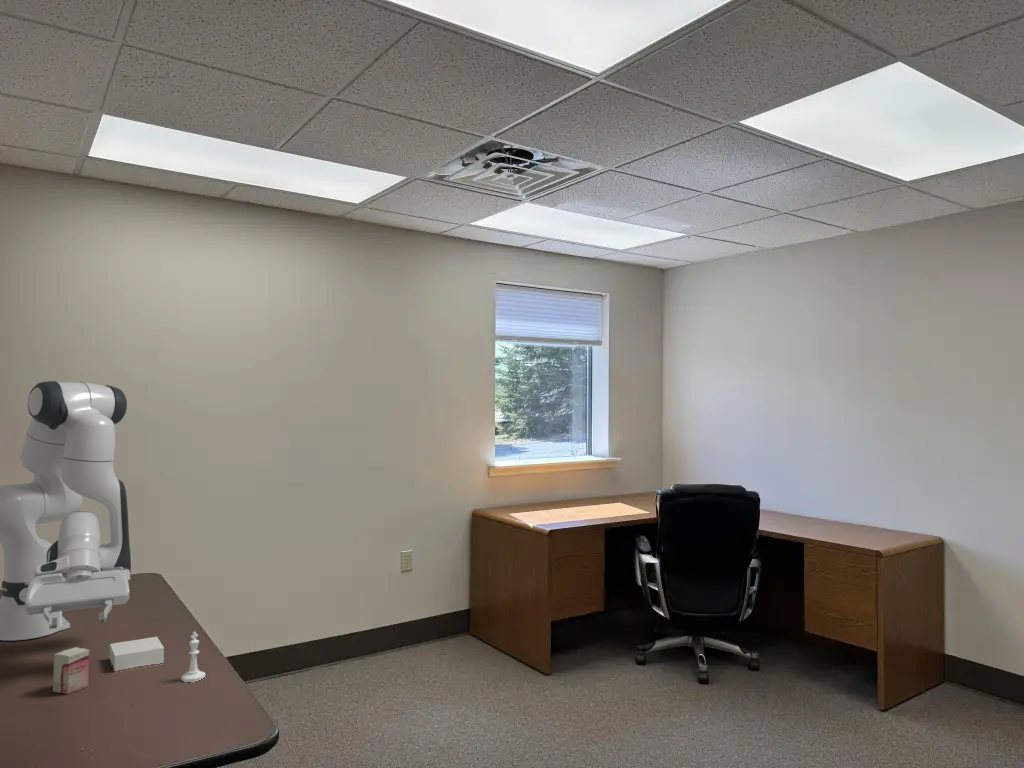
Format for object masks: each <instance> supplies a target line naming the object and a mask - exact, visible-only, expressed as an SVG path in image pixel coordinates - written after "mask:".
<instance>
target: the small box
mask: <svg viewBox="0 0 1024 768" xmlns="http://www.w3.org/2000/svg"><path fill="white" fill-rule="evenodd" d="M89 663H90V649H89V648H88V649H87V648H83V647H82V648H81V647H77V646H75V647H71V648H69V649H64V650H62V651H59V652H57V653H54V654H53V675H52V676H53V680H52V681H53V683H52V692H54V693H58V694H59V693H60V694H63V695H64V694H65V695H70V694H72V693H74V692H77V691H79V690H82V689H84V688H87V687H88V686H89V670H90V669H89V667H90V665H89Z"/></svg>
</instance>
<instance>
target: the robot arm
mask: <svg viewBox="0 0 1024 768" xmlns="http://www.w3.org/2000/svg"><path fill="white" fill-rule="evenodd" d="M127 409H128V400H127V397H126V395H125V393H124V391H123V390H122V389H120V388H118V387H115V386H113V385H108V384H107V385H102V384H99V383H93V382H84V381H80V382H79V381H78V382H76V381H56V380H48V381H42V382H38V383H36V384H35V385H34V387H32V389H31V391H30V392H29V394H28V398H27V410H28V413H29V415H30V416H31V419H30V422H29V426H28V428H27V431H26V434H25V438H24V442H23V445H22V448H21V451H20V455H19V460H20V462H21V465H22V466H23V467H24V468H25V470H27V471H29V472H30V473H32V474H33V480H32V481H31V482H27V483H26V482H25V483H16V484H7V485H6V484H5V485H1V486H0V545H1V548H2V553H3V554H2V555H3V580H2V581H1V585H0V590H1V591H0V595H1V597H0V641H22V640H23V641H25V640H30V639H31V640H32V639H36V638H41V637H45V636H50V635H52V634H54V633H57V632H59V631H63V630H67V629H69V628H71V622H69V621H68V620H67V619H66V618H65V617H64V616H63V614H64V613H63V612H67V611H74V610H83V609H92V608H99V607H100V608H101V607H104V610H103V611H99V615H98V622H99V623H107V622H108V615H109V613H110V612H111V611H112V609H113V606H117V605H124V604H126V603H127V602H128V601H129V600H130V586H129V585H130V583H129V582H130V580H131V573H132V568H133V557H132V552H131V546H130V532H129V531H130V529H129V527H130V526H129V510H128V509H129V508H128V499H127V490H126V489H127V488H126V487H125V486H126V485H125V484H124V482H123V481H122V480H120V479H118V477H117V475H116V473H115V468H114V462H115V457H116V456H115V455H116V454H115V453H116V427H115V425H116V424H119V422H121V421H122V419H123V418H124V417H125V415H126V413H127ZM84 498H86V499H90V500H92V501H95V502H98V503H100V504H101V505H103V506H104V507H105V508H106V509H107V510H108V513H109V532H110V541H109V543H106V544H102V543H101V542H102V538H101V527H100V521H99V518H98V516H97V515H96V514H95V513H93V512H90V511H80V510H81V508H82V505H83V501H84ZM60 521H61V522H60ZM56 522H60V527H59V531H58V536H57V540H56V541H55V542H54V543H51V542H50V541H48V540H46V539H44V538H41V537H40V536H39V535H38V534H37V533H38V532H37V530H36V525H40V524H49V523H56Z"/></svg>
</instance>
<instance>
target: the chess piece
mask: <svg viewBox="0 0 1024 768" xmlns="http://www.w3.org/2000/svg"><path fill="white" fill-rule="evenodd" d="M197 637H199V634H198V633H197V632H196V631H193V632H192V635H190V639H191V640H190V641H189V642H188V643H189V644H188V645H189V646H190V649H191V650H189V652H188V655H191V658H190V665H189V670H188V671H187V672H185V673H183V675H181V679H180V681H181V680H182V681H184V682H183V683H187V682H191V683H196V682H195V681H198V680H201V679H203V678H204V677H205V676H206V672H205V671H201V670H200V669H199V667H198V660H197V659H198V657H197V654H199V653H200V650H198V646H199V643H200V640H199V639H197ZM205 678H206V677H205ZM203 680H204V679H203ZM182 681H181V682H182ZM201 681H202V680H201ZM198 682H199V681H198Z"/></svg>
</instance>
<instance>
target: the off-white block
mask: <svg viewBox="0 0 1024 768" xmlns="http://www.w3.org/2000/svg"><path fill="white" fill-rule="evenodd" d="M164 657H165V647H164V645H163V644H162V642H161V640H160V639H159V638H158V636H153V637H146V638H145V637H144V638H140V639H134V640H133V639H132V640H126V641H119V642H114V643H109V661H110V660H111V661H110V664H111V663H112V664H111V666H112V665H113V667H112V669H113V668H114V669H113V672H114V671H118V670H123V669H128V668H133V667H138V666H145V665H151V664H160V663H164V662H165V658H164ZM164 664H165V663H164ZM160 665H161V664H160Z"/></svg>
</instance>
